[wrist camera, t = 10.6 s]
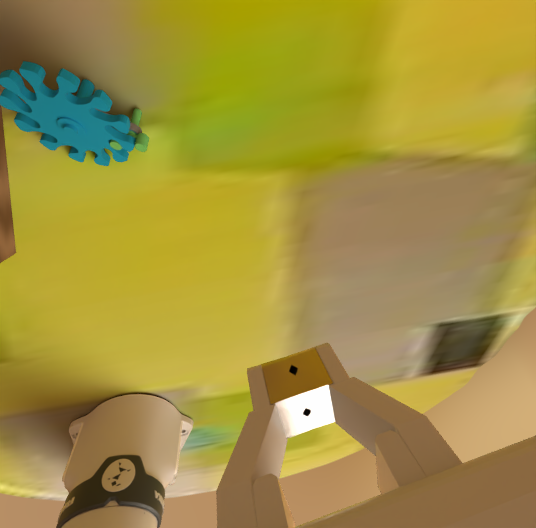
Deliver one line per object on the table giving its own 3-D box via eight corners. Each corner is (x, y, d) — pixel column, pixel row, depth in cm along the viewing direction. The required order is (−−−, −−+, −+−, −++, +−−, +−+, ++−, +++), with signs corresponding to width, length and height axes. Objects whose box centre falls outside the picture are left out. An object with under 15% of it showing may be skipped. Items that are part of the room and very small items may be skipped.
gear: (11, 146, 26) (-30, 46, 18) (32, 100, 28) (4, -8, 20) (138, 185, 31) (152, 121, 23) (148, 144, 33) (164, 72, 25)
